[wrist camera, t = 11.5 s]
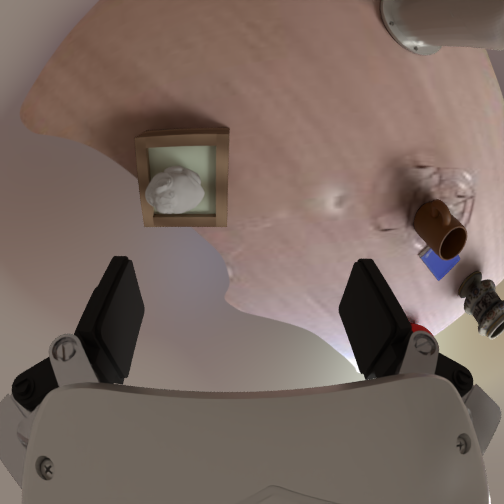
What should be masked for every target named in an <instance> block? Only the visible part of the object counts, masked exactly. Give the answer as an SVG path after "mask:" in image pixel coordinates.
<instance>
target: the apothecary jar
mask: <svg viewBox="0 0 504 504" xmlns="http://www.w3.org/2000/svg"><path fill="white" fill-rule="evenodd" d="M481 279H482V274H481V272H479V271H477V272H474V273H472V274H471V275H470V276H468V277H467V278H466V280H465V281H464V282H463V283H462V285H461V287H460V289H459V292H458V295H459V296H460V297H461V298H465V297H466V299H465V302H464V310H465V312H466V313H467V314H470V315H473V316H474V318H475V319H476V321H477V322H478V324H479V326H478V331H479V333H480V334H481V335H483V336H487V337H489V339H494V338H496V337H497V336H498V335H500V334H501V333H502V332H503V331H504V300H503V301H502V300H501V299H500V298H499V296H498V295H497V293H496V292H495V284H494V282H493V281H492V280H483V281H481Z"/></svg>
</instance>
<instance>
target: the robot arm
mask: <svg viewBox="0 0 504 504" xmlns="http://www.w3.org/2000/svg"><path fill="white" fill-rule="evenodd" d="M380 11H381V16H382V19H383V22H384V24H385V26H386V28H387V30H388V31H389V33H390V34H391V36H392V37H393V38H394V39H395V40H396V41H397V42H398V43H399V44H400V45H401V46H402V47H404V48H405V49H407V50H408V51H410V52H412V53H415V54H418V55H432V54H435V53H436V52H438V51H439V50H440V49H441V47H442V46H453V47H472V48H484V49H493V50H504V0H381V4H380ZM339 314H340V317H341V320H342V322H343V325H344V328H345V330H346V333H347V336H348V339H349V342H350V344H351V347H352V350H353V353H354V356H355V359H356V362H357V365H358V368H359V371H360V373H361V374H364V377H365V379H366V380H364V381H358V382H352V383H345V384H338V385H331V386H323V387H314V388H305V389H294V390H280V391H259V392H199V391H179V390H166V389H154V388H144V387H135V386H126V385H118V384H123V381H124V378H127V377H128V375H129V371H130V366H131V362H132V358H133V354H134V350H135V345H136V341H137V338H138V334H139V330H140V326H141V323H142V319H143V316H144V304H143V300H142V297H141V293H140V290H139V286H138V282H137V278H136V274H135V270H134V267H133V263H132V260H129V259H128V257H126V256H114V257H113V258H112V260H111V262H110V264H109V266H108V267H107V270H106V271H105V273H104V275H103V277H102V279H101V281H100V283H99V285H98V287H96V288H95V290H94V291H93V293H92V295H91V297H90V300H89V302H88V304H87V306H86V308H85V310H84V312H83V315H82V317H81V319H80V321H79V324H78V326H77V328H76V330H75V333H74V335H73V334H63V335H60V336H59V337H57V338H56V339H55V340H54V341H53V342H52V343H51V345H50V348H49V357H48V358H46V359H44V360H43V361H41V362H39V363H38V364H36V365H34V366H33V367H31V368H30V369H28V370H26V371H25V372H23V373H21V374H20V375H18V376H17V377H16V379H15V380H14V382H13V385H12V394H11V395H9V394H7V395H6V397H4V399H3V400H2V401H1V402H0V459H1V461H2V463H3V464H4V465H5V467H6V468H7V470H8V471H9V473H10V474H11V475H12V477H13V478H14V480H15V481H16V482H17V483H18V485H19V486H20V487H21V489H22V504H491V503H490V494H489V487H488V481H487V475H486V470H485V465H484V461H483V457H482V456H483V454H484V453H485V451H486V449H487V447H488V445H489V443H490V441H491V439H492V437H493V435H494V433H495V431H496V429H497V426H498V424H499V422H500V419H501V411H500V408H499V406H498V405H497V404H496V403H495V402H494V401H493V400H492V399H491V398H490V397H489V396H488V395H487V394H486V393H485V392H484V391H483V390H482V389H481V388H480V387H479V386H478V385H477V384H476V385H473V377H472V375H471V373H470V371H469V370H468V369H467V368H465V367H464V366H462V365H461V364H459V363H457V362H455V361H453V360H452V359H450V358H448V357H446V356H444V355H442V354H441V353H439V346H438V343H437V341H436V339H435V338H434V337H433V336H432V335H431V334H429V333H428V332H425V331H416V332H414V333H413V331H412V326H411V324H410V322H409V320H408V318H407V316H406V315H405V313H404V311H403V309H402V307H401V306H400V304H399V302H398V300H397V299H396V297H395V295H394V294H393V292H392V290H391V288H390V287H389V285H388V283H387V282H386V280H385V279H384V277H383V275H382V274H381V272H380V270H379V269H378V267H377V266H376V264H375V263H374V261H373V260H372V259H359V260H358V261H357V262H355V263H354V265H353V268H352V271H351V274H350V277H349V280H348V283H347V286H346V288H345V291H344V294H343V297H342V299H341V302H340V305H339ZM374 378H375V379H374ZM368 379H370V380H368ZM114 383H117V384H114Z"/></svg>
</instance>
